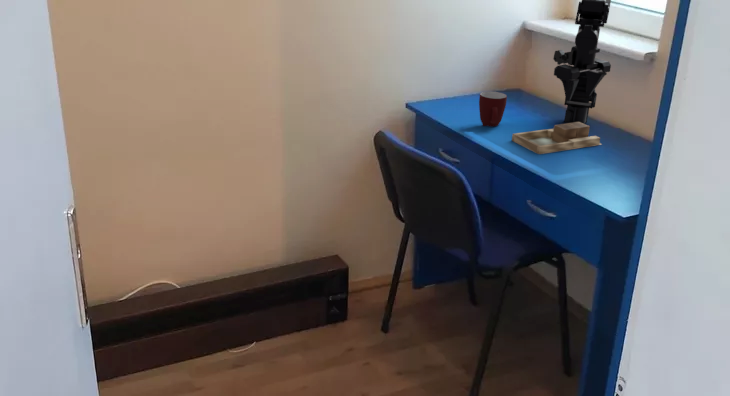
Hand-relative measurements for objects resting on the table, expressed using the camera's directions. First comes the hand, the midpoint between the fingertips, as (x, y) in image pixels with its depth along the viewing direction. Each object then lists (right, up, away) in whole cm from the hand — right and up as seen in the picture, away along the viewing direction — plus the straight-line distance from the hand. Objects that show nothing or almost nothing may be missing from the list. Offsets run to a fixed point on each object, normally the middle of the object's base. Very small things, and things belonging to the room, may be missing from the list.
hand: (578, 98), depth 212 cm
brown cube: (0, -12, +1) cm, 12 cm away
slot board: (-7, -14, -1) cm, 15 cm away
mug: (-23, -8, +11) cm, 27 cm away
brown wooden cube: (-4, -12, -1) cm, 13 cm away
